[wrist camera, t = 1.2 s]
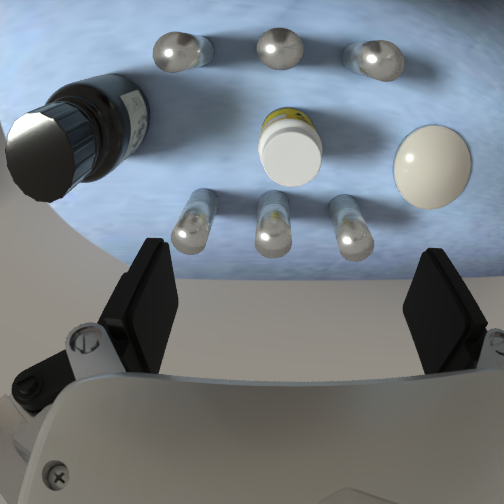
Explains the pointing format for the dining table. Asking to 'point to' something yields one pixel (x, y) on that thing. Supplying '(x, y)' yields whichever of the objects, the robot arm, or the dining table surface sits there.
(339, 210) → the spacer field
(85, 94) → the ink bottle
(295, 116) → the supplement bottle
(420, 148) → the coaster
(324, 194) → the dining table surface
